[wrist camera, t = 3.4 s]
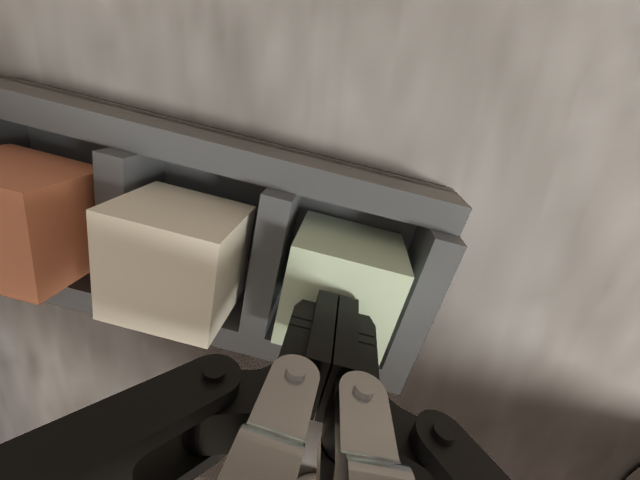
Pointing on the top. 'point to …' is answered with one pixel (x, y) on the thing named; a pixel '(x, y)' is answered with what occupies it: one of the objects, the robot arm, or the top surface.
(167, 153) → the tray
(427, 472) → the robot arm
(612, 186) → the top surface
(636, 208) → the top surface
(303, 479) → the energy drink
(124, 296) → the middle key
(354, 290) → the sage key
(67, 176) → the terracotta key
